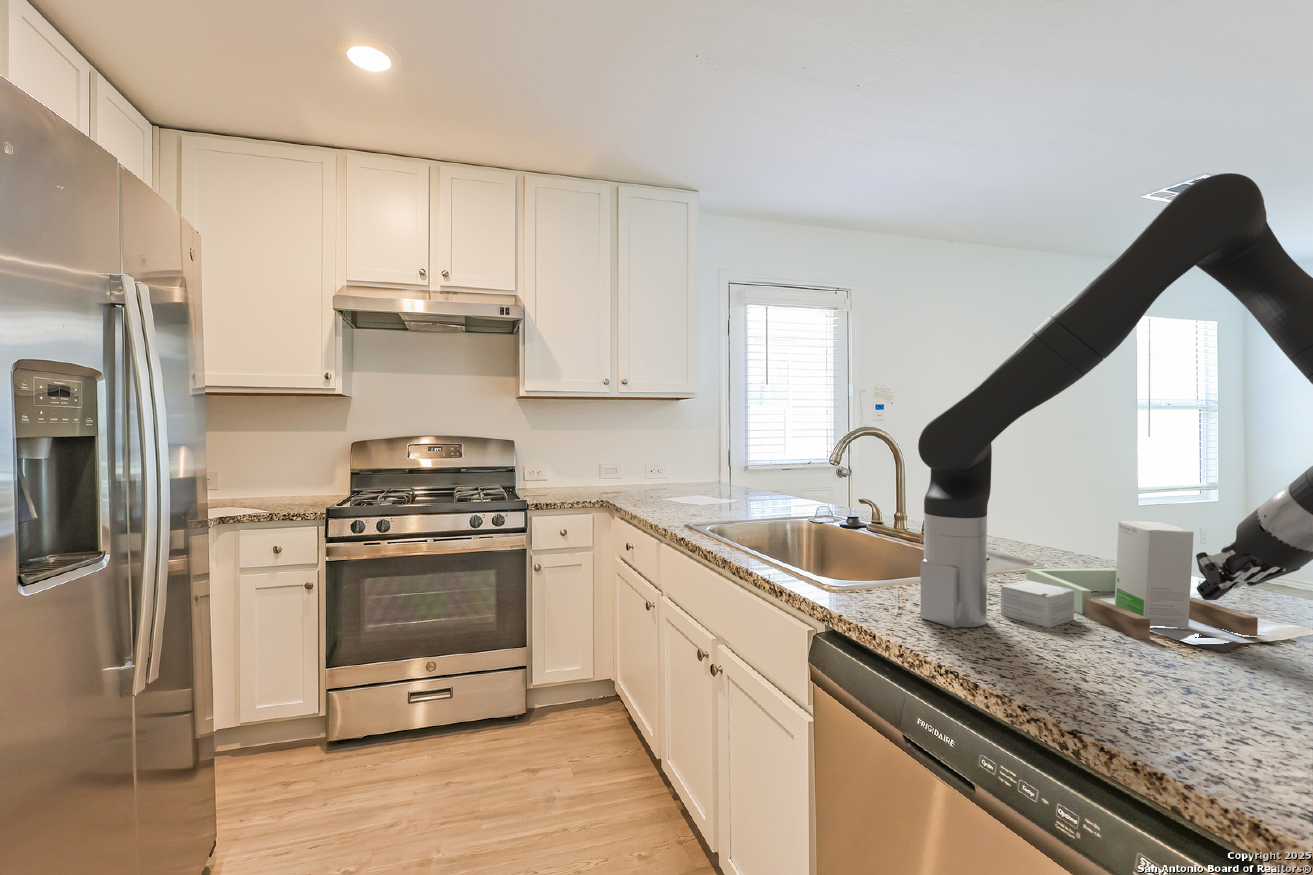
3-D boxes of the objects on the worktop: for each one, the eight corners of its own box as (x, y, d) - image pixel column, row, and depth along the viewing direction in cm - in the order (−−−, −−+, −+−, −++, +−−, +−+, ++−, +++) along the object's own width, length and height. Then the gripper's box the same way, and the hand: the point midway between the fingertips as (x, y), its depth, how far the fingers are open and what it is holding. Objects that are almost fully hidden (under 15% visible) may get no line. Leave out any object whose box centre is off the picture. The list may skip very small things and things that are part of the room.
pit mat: (1224, 653, 83) (1224, 650, 83) (1179, 641, 88) (1179, 639, 88) (1240, 644, 86) (1240, 642, 86) (1196, 634, 91) (1196, 632, 91)
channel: (1257, 637, 89) (1257, 617, 89) (1136, 639, 89) (1136, 618, 89) (1193, 615, 100) (1193, 597, 100) (1085, 616, 99) (1085, 598, 99)
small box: (1025, 608, 105) (1025, 578, 105) (1075, 620, 98) (1075, 589, 98) (999, 615, 101) (999, 585, 101) (1049, 629, 94) (1049, 596, 94)
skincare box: (1113, 612, 102) (1114, 520, 101) (1156, 613, 101) (1157, 520, 100) (1146, 628, 93) (1147, 528, 93) (1194, 630, 92) (1195, 529, 92)
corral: (1186, 613, 101) (1186, 589, 101) (1082, 614, 101) (1082, 590, 100) (1117, 589, 116) (1117, 568, 116) (1026, 589, 116) (1026, 569, 115)
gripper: (1325, 500, 78) (1232, 571, 90) (1223, 501, 78) (1145, 572, 90) (1373, 549, 73) (1268, 618, 85) (1264, 550, 73) (1175, 618, 85)
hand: (1205, 594), depth 88 cm, fingers closed
